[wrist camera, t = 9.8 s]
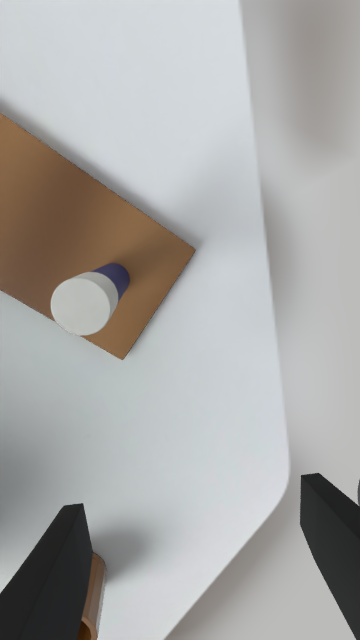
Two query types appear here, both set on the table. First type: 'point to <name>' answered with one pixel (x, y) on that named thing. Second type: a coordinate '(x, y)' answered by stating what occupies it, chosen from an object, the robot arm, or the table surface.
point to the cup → (93, 601)
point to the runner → (78, 237)
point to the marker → (89, 299)
